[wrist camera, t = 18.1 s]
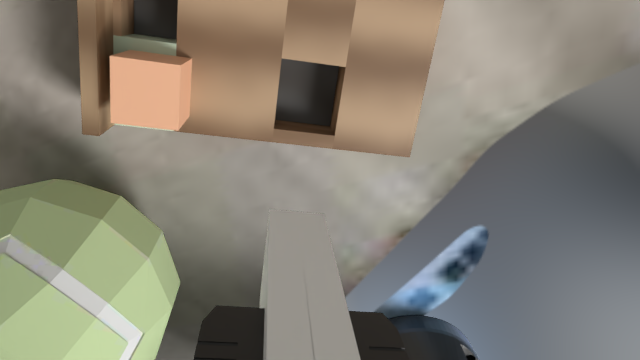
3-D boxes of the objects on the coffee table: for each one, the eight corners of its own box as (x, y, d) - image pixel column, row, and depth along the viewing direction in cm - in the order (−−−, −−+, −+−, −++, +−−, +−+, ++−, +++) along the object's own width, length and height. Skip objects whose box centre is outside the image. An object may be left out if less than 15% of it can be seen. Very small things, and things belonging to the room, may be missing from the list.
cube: (189, 116, 32) (178, 130, 28) (130, 109, 31) (110, 122, 27) (192, 58, 30) (180, 65, 27) (130, 49, 30) (109, 55, 26)
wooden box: (399, 146, 37) (421, 170, 32) (113, 113, 34) (82, 134, 28) (432, -10, 33) (464, -14, 27) (111, -64, 30) (73, -80, 24)
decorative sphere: (-40, 237, 36) (-235, 380, 22) (85, 115, 34) (-47, 191, 20) (109, 342, 41) (25, 513, 27) (227, 243, 39) (201, 375, 25)
